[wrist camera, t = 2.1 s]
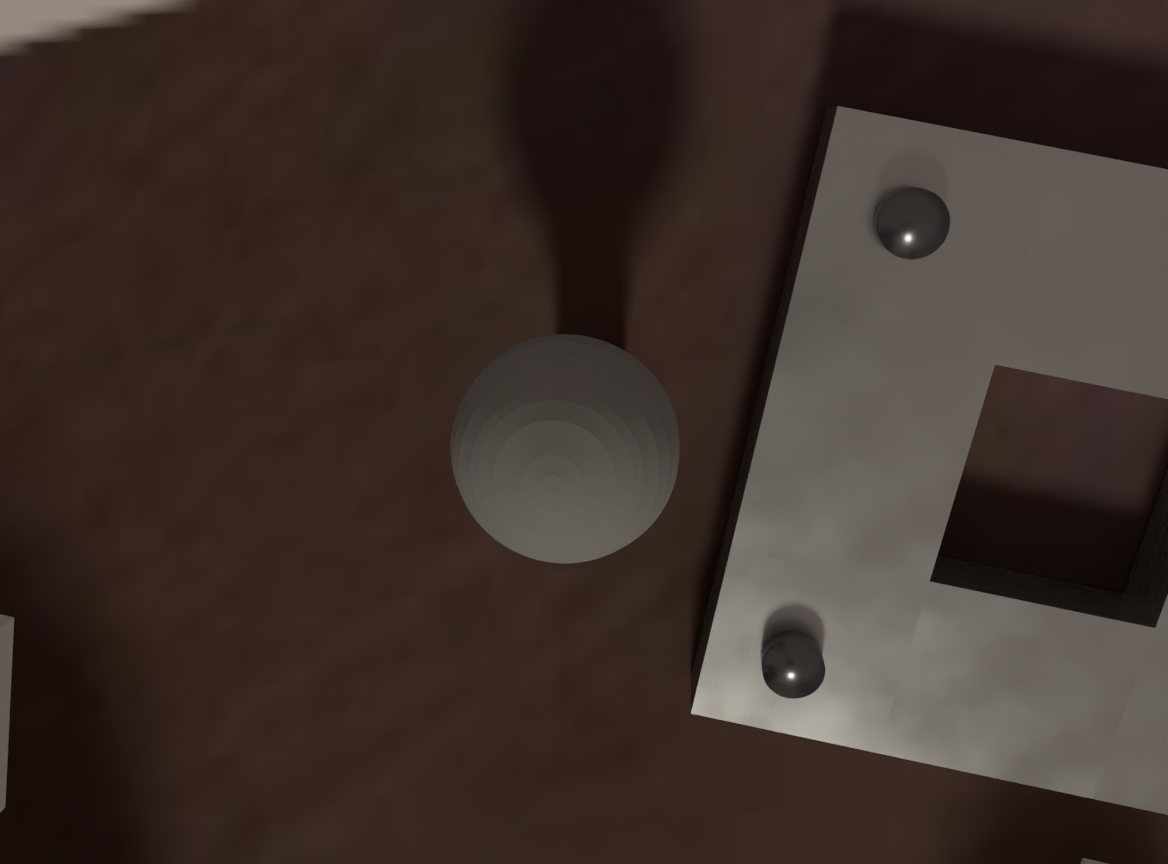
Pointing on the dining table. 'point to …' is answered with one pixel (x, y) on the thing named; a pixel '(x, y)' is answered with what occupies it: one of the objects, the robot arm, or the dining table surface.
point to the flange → (943, 466)
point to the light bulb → (565, 448)
